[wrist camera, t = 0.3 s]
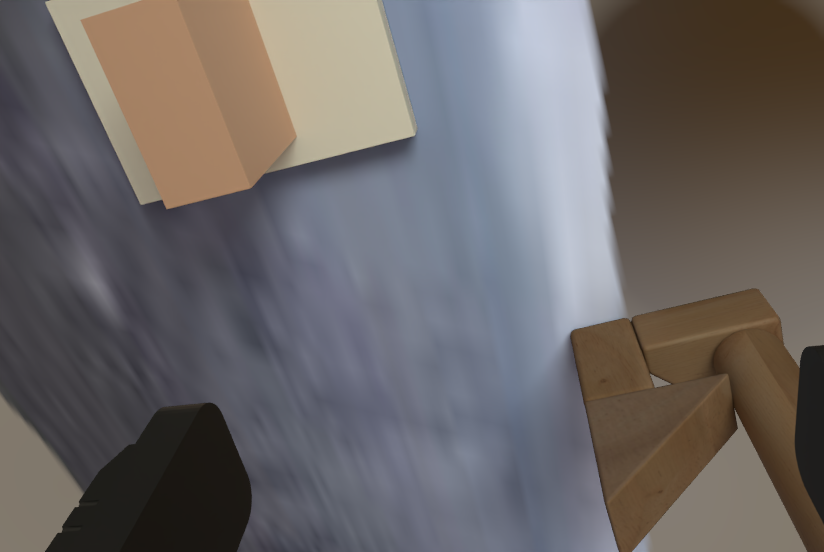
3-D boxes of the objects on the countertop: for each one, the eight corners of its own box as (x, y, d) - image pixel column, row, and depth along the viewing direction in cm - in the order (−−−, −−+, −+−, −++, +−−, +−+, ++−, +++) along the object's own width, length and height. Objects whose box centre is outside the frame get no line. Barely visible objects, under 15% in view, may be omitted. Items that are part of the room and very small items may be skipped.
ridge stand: (61, -1, 36) (-70, 23, 27) (354, -98, 33) (308, -104, 24) (152, 195, 40) (64, 267, 32) (417, 127, 37) (397, 188, 29)
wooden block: (568, 328, 42) (618, 579, 26) (757, 283, 39) (942, 531, 23) (582, 377, 43) (637, 643, 27) (765, 337, 41) (944, 604, 25)
